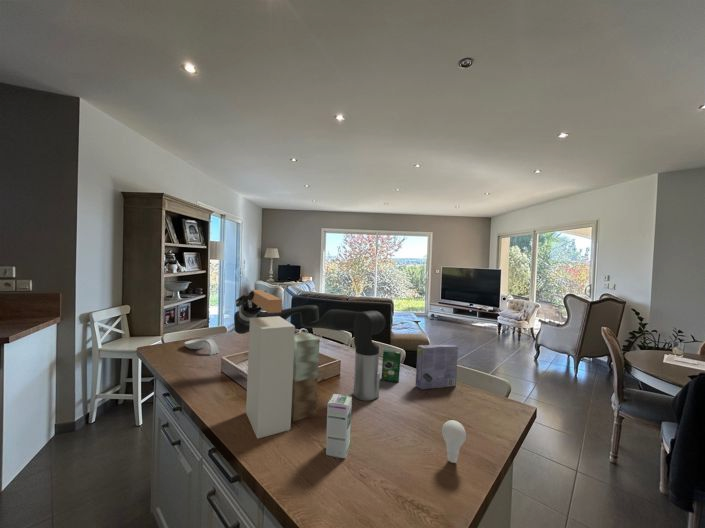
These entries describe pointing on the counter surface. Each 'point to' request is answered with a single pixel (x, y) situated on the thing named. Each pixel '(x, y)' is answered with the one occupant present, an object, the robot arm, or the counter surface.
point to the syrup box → (338, 425)
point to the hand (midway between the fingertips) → (259, 293)
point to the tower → (305, 376)
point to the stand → (270, 375)
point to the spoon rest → (202, 345)
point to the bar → (267, 301)
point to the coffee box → (391, 365)
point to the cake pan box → (436, 366)
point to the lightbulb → (453, 438)
